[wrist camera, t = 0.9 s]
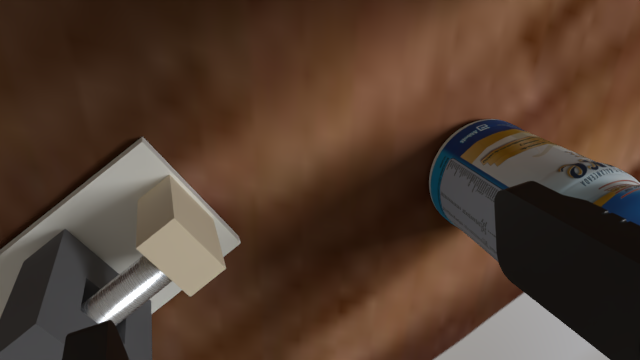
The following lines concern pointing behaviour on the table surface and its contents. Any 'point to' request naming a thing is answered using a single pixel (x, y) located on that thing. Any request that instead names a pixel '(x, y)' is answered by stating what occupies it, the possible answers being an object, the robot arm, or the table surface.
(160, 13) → the table surface
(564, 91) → the table surface
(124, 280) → the metal pipe
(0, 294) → the pipe stand
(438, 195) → the blue canister
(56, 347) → the grey sliding block
